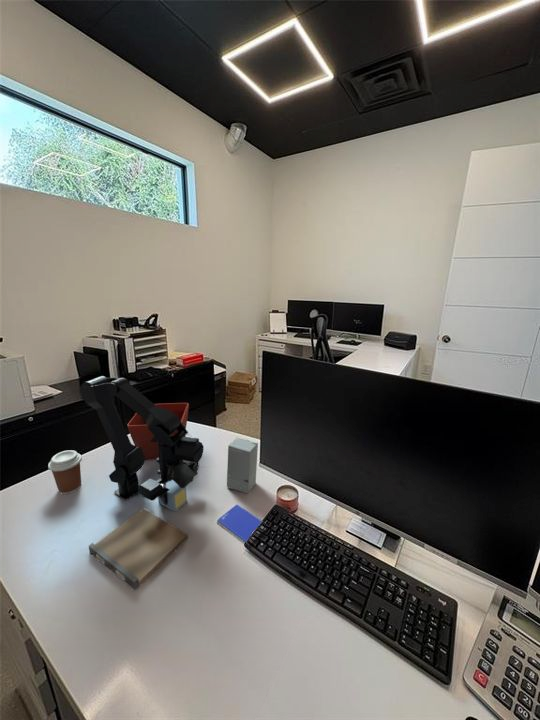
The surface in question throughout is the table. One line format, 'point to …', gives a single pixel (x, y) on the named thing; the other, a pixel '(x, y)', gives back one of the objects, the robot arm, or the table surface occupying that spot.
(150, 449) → the plant pot
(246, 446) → the skincare box
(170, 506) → the box
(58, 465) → the coffee cup
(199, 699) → the table surface
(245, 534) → the hard drive
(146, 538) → the shelf board
